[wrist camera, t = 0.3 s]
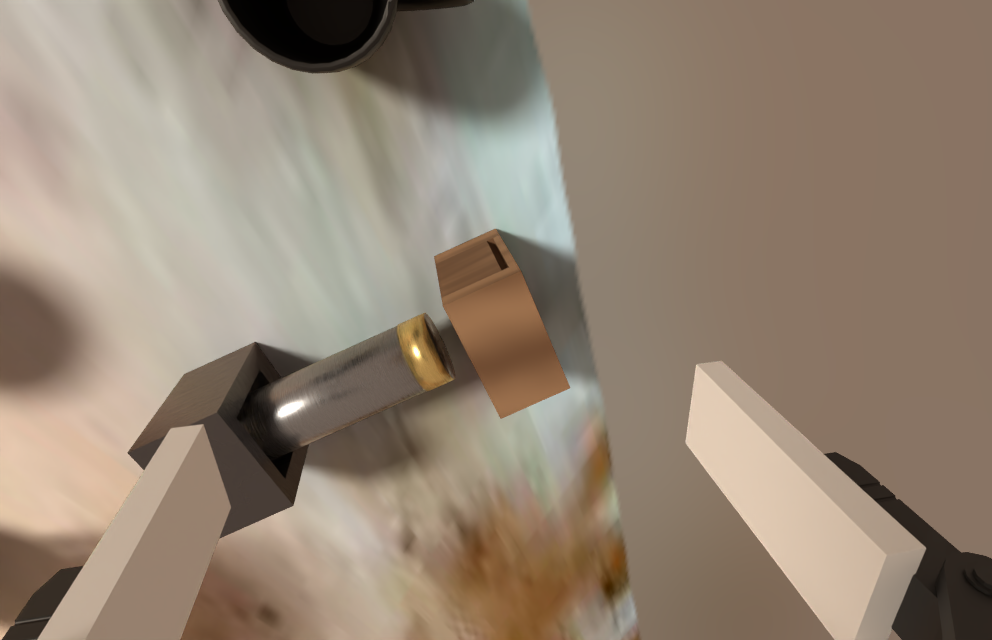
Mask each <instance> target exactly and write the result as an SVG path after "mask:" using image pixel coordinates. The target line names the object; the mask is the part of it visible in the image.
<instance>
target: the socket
mask: <svg viewBox="0 0 992 640" xmlns="http://www.w3.org/2000/svg"><path fill="white" fill-rule="evenodd" d="M434 258H435V263H436V269H437V275H438V280H439V286H440V292H441V298H442V303H443V307H444V309H445V311H446V313H447V315H448V317H449V319H450V321H451V323H452V325H453V327H454V329H455V330H456V332H457V334H458V336H459V338H460V340H461V342H462V344H463V346H464V348H465V350H466V352H467V354H468V356H469V358H470V360H471V362H472V364H473V366H474V368H475V370H476V371H477V373H478V375H479V377H480V379H481V381H482V383H483V385H484V387H485V389H486V391H487V393H488V395H489V397H490V399H491V401H492V403H493V405H494V407H495V409H496V411H497V412H498V414H499V416H500V418H504V417H506V416H508V415H510V414H513V413H515V412H517V411H519V410H522V409H524V408H526V407H529V406H531V405H533V404H535V403H538V402H540V401H542V400H544V399H547V398H549V397H551V396H553V395H556V394H558V393H560V392H562V391H565V390H567V389H569V388H570V386H569V384H568V381H567V379H566V377H565V374H564V372H563V370H562V367H561V365H560V362H559V360H558V358H557V355H556V353H555V351H554V348H553V346H552V343H551V341H550V339H549V336H548V334H547V332H546V329H545V327H544V324H543V322H542V320H541V317H540V315H539V313H538V310H537V308H536V305H535V303H534V301H533V298H532V296H531V294H530V291H529V289H528V286H527V284H526V282H525V279H524V277H523V275H522V272H521V270H520V268H519V267H518V265H517V263H516V262H515V260H514V258H513V257H512V255H511V253H510V252H509V250H508V248H507V247H506V245H505V243H504V242H503V240H502V238H501V237H500V235H499V233H498V232H497V230H496V229H494V230H491V231H489V232H487V233H485V234H483V235H480V236H478V237H476V238H474V239H472V240H469V241H467V242H465V243H463V244H461V245H458V246H456V247H454V248H452V249H450V250H447V251H445V252H443V253H441V254H439V255H436V256H434Z"/></svg>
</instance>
